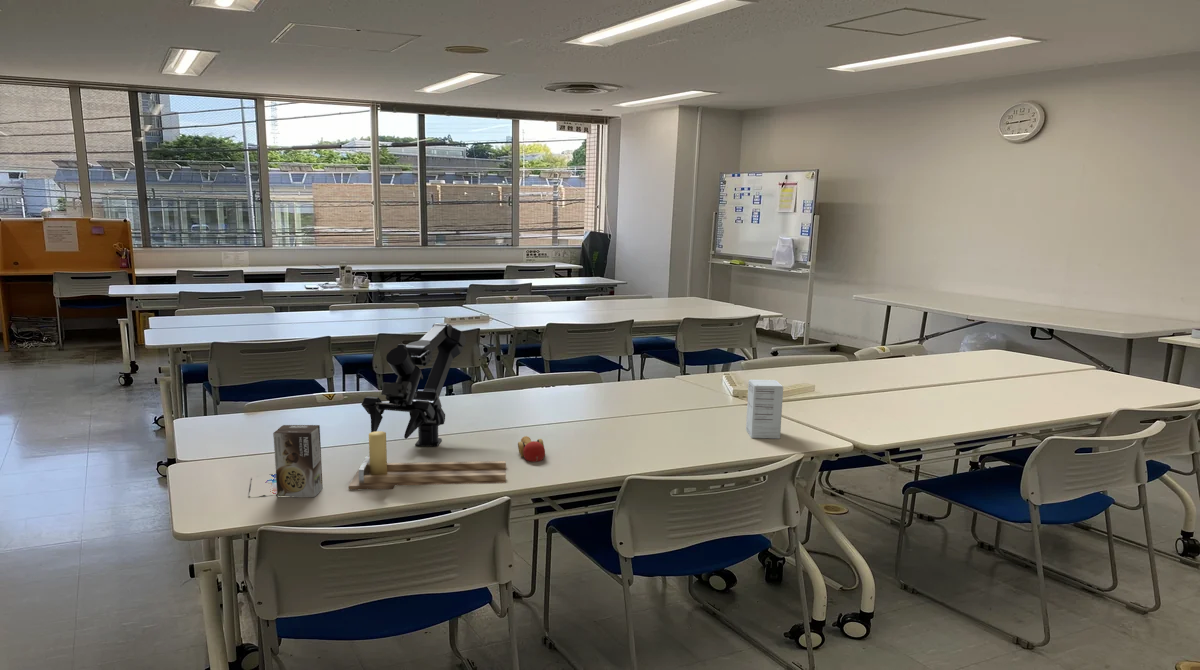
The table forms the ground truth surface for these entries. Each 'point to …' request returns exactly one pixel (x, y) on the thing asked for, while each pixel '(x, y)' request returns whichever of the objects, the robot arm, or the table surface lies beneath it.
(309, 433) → the coffee box
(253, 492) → the table surface
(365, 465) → the stop
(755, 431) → the supplement box
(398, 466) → the track
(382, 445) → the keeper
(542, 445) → the kendama
